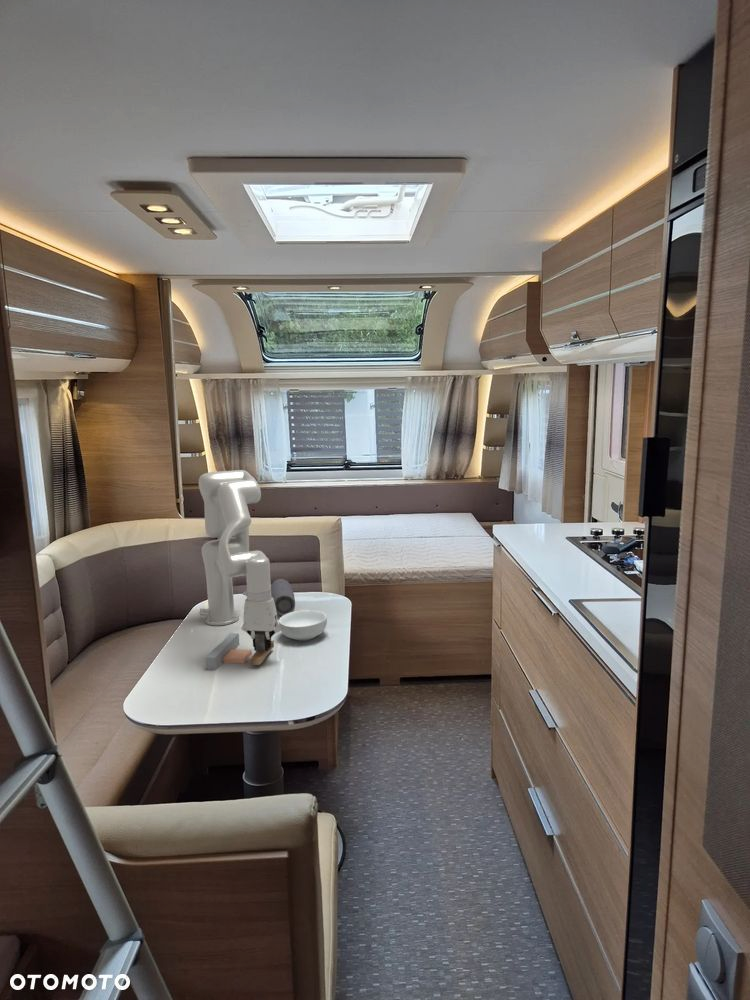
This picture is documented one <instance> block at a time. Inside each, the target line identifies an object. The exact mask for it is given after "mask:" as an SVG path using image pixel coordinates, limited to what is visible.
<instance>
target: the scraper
mask: <svg viewBox="0 0 750 1000" xmlns="http://www.w3.org/2000/svg"><path fill="white" fill-rule="evenodd" d="M265 639H266V634H265V631H257V632H256V633H255V645H256V651H255V653H253V655H251V656H250V657H249V658H250V665H254V666H260V665H261V664H262V663H263V662H264V661H265V659H266V657H267V656H268V655H269V654H270V652H271V651H272V649H273V648H274V647H275V641H274V640H271V648H270V649H269V650H268V651H265Z"/></svg>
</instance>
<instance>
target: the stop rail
mask: <svg viewBox="0 0 750 1000" xmlns="http://www.w3.org/2000/svg"><path fill="white" fill-rule="evenodd" d="M239 645H240V635H239V633H237V632H235V633H234V632H231V633H229V634H228V635H227V636H226V637H225V638H224V639H223V640H221V642H220V643H219V644H218V645H217V646H216V647H215V648H214V649H212V651H210V653H208V655H206V657H205V665H206V670H210V671H211V670H212V671H216V670H217V669H218V668H219V667H220V666H221V665H222V664H223V658H224V656H225V655H226V654H227V653H228V652H229V651H230V650H231V649H237V648H238V647H239Z"/></svg>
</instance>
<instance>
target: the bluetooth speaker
mask: <svg viewBox="0 0 750 1000" xmlns="http://www.w3.org/2000/svg"><path fill="white" fill-rule="evenodd" d="M271 597H272V598H273V599H274V602H275V606H276V612H277V615H279V616H281V617H282V616H283V615H285V614H288V613H290V612H294V610H295V608H296V598H295V593H294V591H293V588H292V585H291V583H289V581H288V580H287V579H284V578H278V579H276V580H274V581H273V582H272V583H271Z"/></svg>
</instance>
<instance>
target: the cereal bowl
mask: <svg viewBox="0 0 750 1000" xmlns="http://www.w3.org/2000/svg"><path fill="white" fill-rule="evenodd" d="M327 620H328V616H327V614H326V613H325V612H323V611H321V610H314V609H301V610H295V611H294V610H293V612H290V613H288V614H285V615H283V616H281V617H280V618H279V619H278V624H279V625H280V627H281V630H280V632H281V633H282V634H283V635H284V636H285V637H287V638H289V639H294V640H296V641H300V642H302V641H309V640H312V639H314V638H315V637H317V636H319V635H321V634H322V633H323V632H324V631H325V629H326V628H327V623H328V621H327Z"/></svg>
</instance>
